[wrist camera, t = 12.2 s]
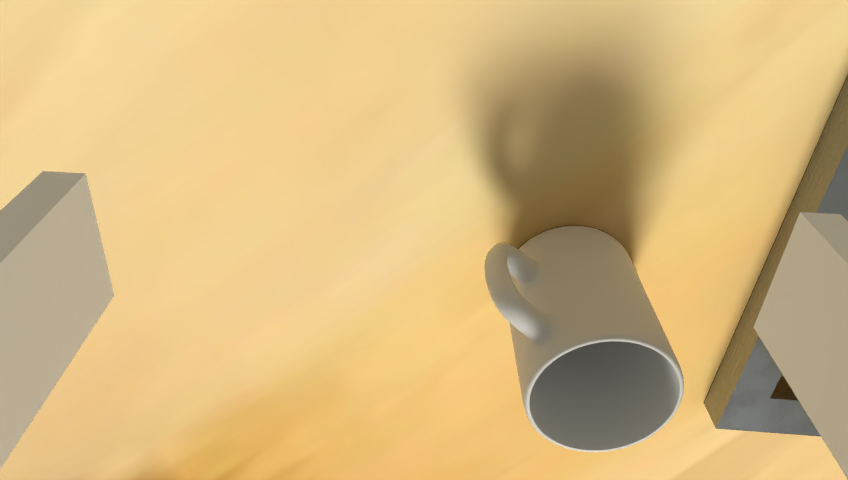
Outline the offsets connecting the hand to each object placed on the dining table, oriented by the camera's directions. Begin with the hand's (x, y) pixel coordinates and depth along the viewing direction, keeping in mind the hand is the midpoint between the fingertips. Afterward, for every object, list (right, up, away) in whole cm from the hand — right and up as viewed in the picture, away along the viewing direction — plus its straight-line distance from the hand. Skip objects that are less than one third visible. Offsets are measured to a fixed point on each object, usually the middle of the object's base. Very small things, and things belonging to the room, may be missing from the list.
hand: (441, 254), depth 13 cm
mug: (+8, -1, +32) cm, 33 cm away
